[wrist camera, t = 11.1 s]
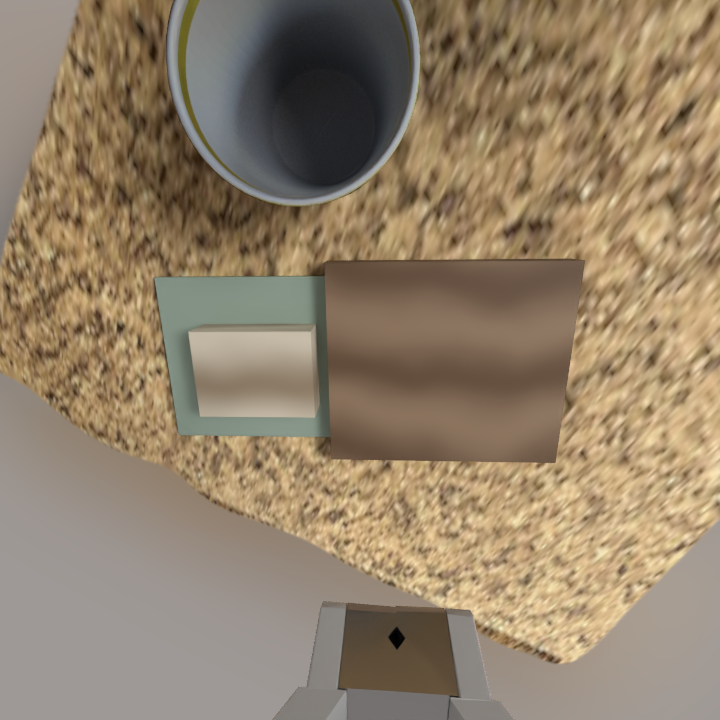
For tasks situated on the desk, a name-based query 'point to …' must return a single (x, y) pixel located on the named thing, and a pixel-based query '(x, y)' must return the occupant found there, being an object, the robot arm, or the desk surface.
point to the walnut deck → (449, 357)
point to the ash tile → (256, 370)
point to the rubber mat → (240, 306)
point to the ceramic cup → (294, 90)
